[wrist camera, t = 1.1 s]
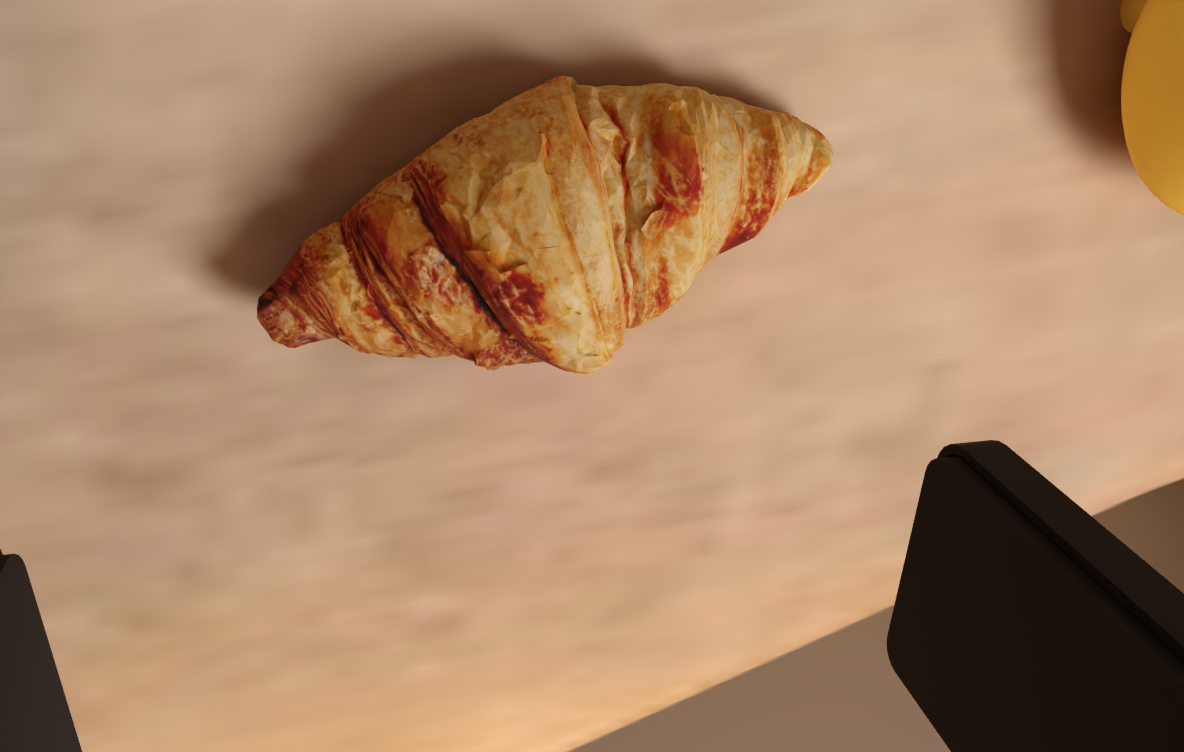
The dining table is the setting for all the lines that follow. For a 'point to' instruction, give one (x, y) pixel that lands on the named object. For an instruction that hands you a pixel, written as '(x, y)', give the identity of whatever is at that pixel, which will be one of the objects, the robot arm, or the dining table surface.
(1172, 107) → the teapot
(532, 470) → the dining table surface
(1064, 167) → the dining table surface
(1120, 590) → the robot arm
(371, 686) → the dining table surface
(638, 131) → the croissant
